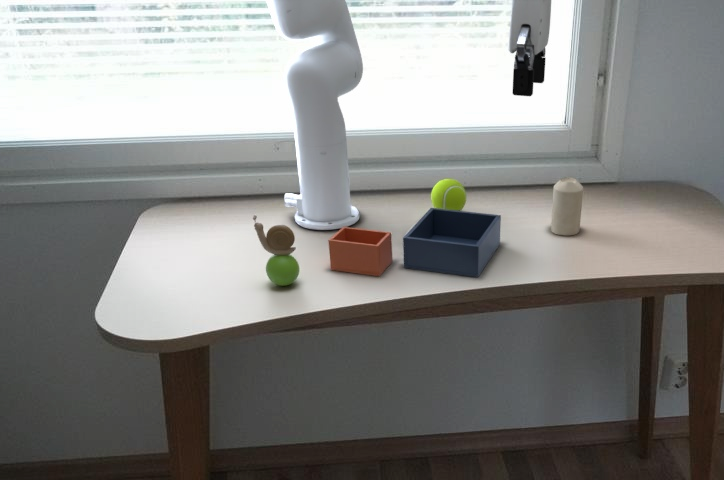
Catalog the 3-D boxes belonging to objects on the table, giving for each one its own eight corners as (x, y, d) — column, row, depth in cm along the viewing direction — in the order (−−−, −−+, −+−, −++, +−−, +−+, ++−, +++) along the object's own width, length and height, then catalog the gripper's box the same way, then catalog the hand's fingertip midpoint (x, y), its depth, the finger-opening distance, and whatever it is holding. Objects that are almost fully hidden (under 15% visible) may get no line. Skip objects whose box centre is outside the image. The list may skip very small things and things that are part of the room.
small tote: (330, 270, 144) (328, 240, 141) (345, 255, 149) (343, 226, 146) (379, 276, 142) (377, 246, 139) (392, 261, 147) (391, 232, 144)
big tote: (403, 267, 145) (402, 237, 142) (431, 236, 157) (430, 207, 154) (478, 277, 141) (478, 246, 138) (499, 244, 154) (501, 215, 151)
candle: (578, 237, 157) (582, 185, 152) (549, 234, 158) (552, 183, 152) (580, 226, 162) (585, 175, 156) (552, 224, 162) (555, 173, 157)
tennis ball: (425, 211, 168) (424, 177, 164) (454, 205, 171) (454, 172, 167) (442, 222, 163) (442, 187, 159) (472, 216, 166) (473, 181, 162)
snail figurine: (263, 278, 141) (254, 209, 134) (302, 276, 141) (294, 208, 135) (260, 291, 136) (250, 222, 130) (299, 290, 137) (292, 221, 130)
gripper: (522, -35, 135) (517, 76, 145) (498, -23, 121) (494, 99, 131) (568, -33, 134) (560, 79, 143) (549, -21, 120) (541, 102, 129)
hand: (528, 88), depth 137 cm, fingers open, 9 cm apart
